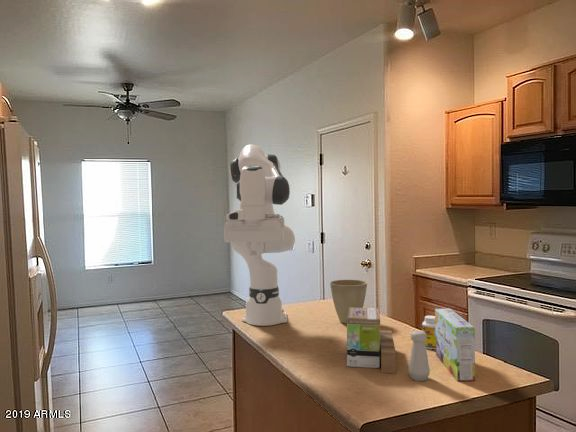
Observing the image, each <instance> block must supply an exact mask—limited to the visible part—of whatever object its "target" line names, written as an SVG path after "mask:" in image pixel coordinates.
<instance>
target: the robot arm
mask: <svg viewBox="0 0 576 432" xmlns="http://www.w3.org/2000/svg"><path fill="white" fill-rule="evenodd" d="M228 173H229V176H230V178H231V179H232V180H231V181H233V182H234V183H235V185H236V199H238V201H240V203H239V210H234V211H232V212H229V213H227V214H226V215H225V219H226V222H225V223H224V226H223V241H224V243H231V244H230V245H231V247H232V249H233V250H234V251H235V252H236V253H237V254H239V255H240V256H241V257H242V259H244V260H245V262H246V264H247V268H248V271H249V282H250V283H249V285H250V286H249V288H248V289H249V291H248V294H249V295H248V297H249V298H248V299H247V300H246V301H245V316H244V317H242V318H241V322H245V323H247V324H249V325H251V326H260V327H261V326H264V327H265V326H267V327H268V326H274V325H278V324H285V323H288V316H287V311H285V310H284V309H283V307H282V306H283V304H282V303H283V302H282V300H281V297H279V295H280V289H279V286H278V268H277V266H275V264H273V263H272V262H270V261H268V260H265V259H264V258H263V256H262V254H274V253H275V254H278V253H283V252H287V251H290V250H291V249H292V248H293V247H294V245H295V241H296V239H295V234H294V231H293V230H292V228H291V227H289V226H286V225H285V218H284V217H283V215H280V213H279V214H278V213H275V211H274V206H273V205H279V206H280V205H283V204H285V203H286V202H287V201H288V200H289V198H290V195H291V188H290V183H289V181H288V179H287V178H286V177H285V176H284V175H283V174H282V172H281V162H280V160H279V158H278V157H277V155H275V154H265V152H264V151H263V150H262V148H261V147H260V146H259V145H257V144H252V143H250V144H247V145H245V146H244V147H243V148H241V151H240V153H239V155H238V157H236V158H235V159H233V160H232V161H231V162H230V164H229V169H228Z"/></svg>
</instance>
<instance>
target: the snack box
mask: <svg viewBox="0 0 576 432" xmlns="http://www.w3.org/2000/svg"><path fill="white" fill-rule="evenodd" d="M434 316H435V333H436V349H435V355H436V358H438V359H439V361H440V362H441V363H442V364H443V365H444V366H445V368H446V369H447V371H448V372H449V373H450V375H452V377H453V378H454V380H456V382H470V381H471V382H474V381H475V382H476V350H475V349H476V347H475V346H476V344H475V342H476V341H475V340H476V339H475V338H476V337H475V335H476V334H475V333H476V332H475V331H476V329H475V326H473V325H472V324H471V323H470V322H468V321H467V319H466V320H465V318H463V317H462V316H460V314H458V313H456V311H454V310H453V309H451V308H434Z"/></svg>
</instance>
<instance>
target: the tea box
mask: <svg viewBox="0 0 576 432" xmlns="http://www.w3.org/2000/svg"><path fill="white" fill-rule="evenodd" d="M380 316H381V315H380V308H378V307H377V308H376V307H363V308H355V307H349V311H348V319H347V324H346V366H347V367H353V368H371V369H380V368H381V362H380V330H381V317H380Z"/></svg>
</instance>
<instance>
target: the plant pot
mask: <svg viewBox="0 0 576 432" xmlns="http://www.w3.org/2000/svg"><path fill="white" fill-rule="evenodd" d="M329 286H330V292H331V296H332V297H331V298H332V301H333V302H332V303H333V304H334V305H333V306H334V310H335V312H336V315H337V318H338V320H339V322H340V323H341V324H346V325H347V319H348V311H349V307H355V308H364V303H365V299H366V296H367V295H366V294H367V287H368V282H367V281H365V280H362V279H359V280H358V279H336V280H331V281H330V282H329Z"/></svg>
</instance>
